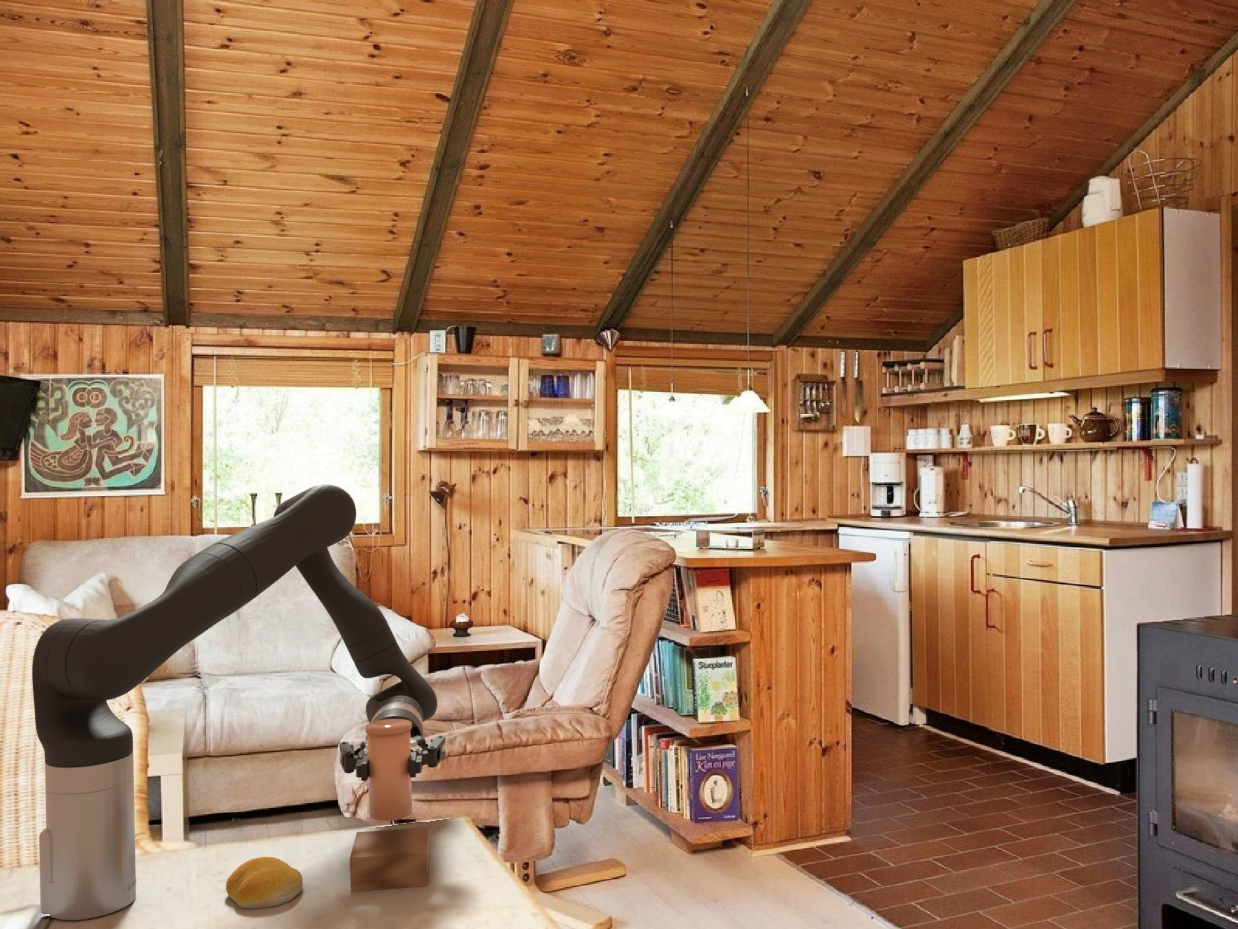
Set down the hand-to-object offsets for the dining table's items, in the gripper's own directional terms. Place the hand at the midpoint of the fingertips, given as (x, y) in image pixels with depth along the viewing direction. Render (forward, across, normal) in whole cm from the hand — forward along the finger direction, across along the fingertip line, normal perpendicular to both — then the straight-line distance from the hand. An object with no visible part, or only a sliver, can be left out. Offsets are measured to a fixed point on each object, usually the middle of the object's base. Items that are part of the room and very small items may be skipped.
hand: (388, 771), depth 127 cm
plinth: (-2, 0, +14) cm, 14 cm away
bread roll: (+1, -15, +14) cm, 20 cm away
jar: (-3, 0, +6) cm, 7 cm away
